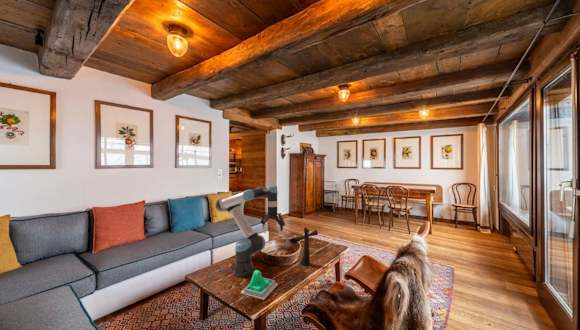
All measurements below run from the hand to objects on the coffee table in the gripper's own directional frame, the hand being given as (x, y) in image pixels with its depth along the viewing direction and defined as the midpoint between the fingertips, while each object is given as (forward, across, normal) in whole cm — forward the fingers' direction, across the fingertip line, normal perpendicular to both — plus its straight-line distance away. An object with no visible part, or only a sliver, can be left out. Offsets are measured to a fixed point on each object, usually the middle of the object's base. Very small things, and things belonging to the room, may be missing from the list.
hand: (272, 233), depth 173 cm
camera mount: (+28, +4, -25) cm, 38 cm away
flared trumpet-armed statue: (+29, +18, +21) cm, 40 cm away
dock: (+29, +4, -25) cm, 38 cm away
